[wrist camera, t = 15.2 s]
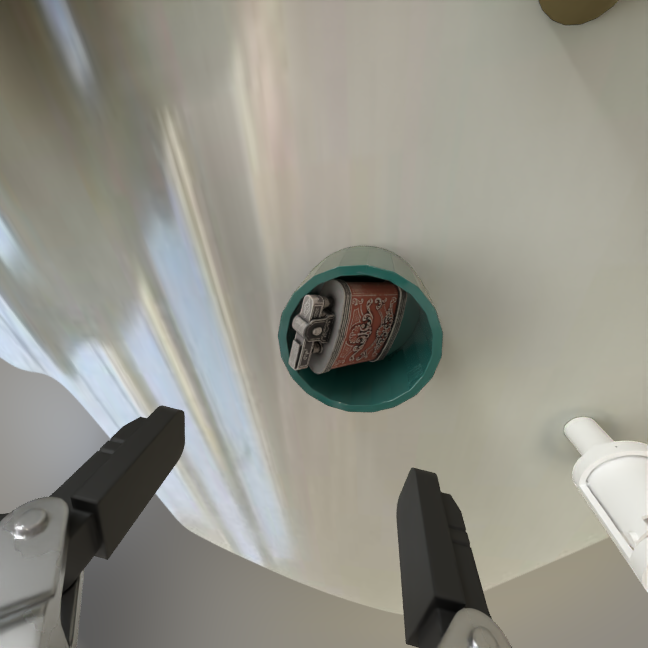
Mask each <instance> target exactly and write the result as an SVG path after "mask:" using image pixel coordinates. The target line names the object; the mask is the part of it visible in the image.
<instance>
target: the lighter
mask: <svg viewBox="0 0 648 648" xmlns="http://www.w3.org/2000/svg"><path fill="white" fill-rule="evenodd" d="M406 299H407V292H406V291H405V290H403V289H402V288H400V287H398V286H397V285H395V284H394V283H392V282H391V281H388V280H387V281H384V282H345V281H344V280H341V279H332V280H329V281H327V282H325V283H324V285H323V287H322V290H321V292H320V295H306V296H305V297H304V300H303V305H302V309H301V312H300V313H299V314H298V315H296V316H295V318H294V319H293V323H292V327H293V328H294V329H295V330H296V335H295V340H293V344H292V349H291V353H290V358H289V365H290V366H291V367H292V368H293V369H294V370H300V369H305V368H307V367H308V365H309V367H310V369H311V370H312V371H313V372H314V373H317V374H321V373H325V372H328V371H330V369H333V368H338V367H342V366H347V365H352V364H356V363H361V362H365V361H371V362H375V361H379V360H382V359H383V358H384V357H385V356H386V354H387V353H388V351H389V349H390V348H391V346H392V344H393V342H394V340H395V337H396V335H397V333H398V331H399V328H400V324H401V321H402V318H403V314H404V310H405V304H406Z"/></svg>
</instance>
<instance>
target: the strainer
mask: <svg viewBox="0 0 648 648" xmlns="http://www.w3.org/2000/svg"><path fill="white" fill-rule="evenodd" d="M564 433H565V435H566V436H567V438H568V439H569V440H570V441H571V442H572V444H573V445H574V446H575V448H576V449H577V450H578V452H579V453H580V454H581V455H582V456H581V457H580V458H579V459H578V461H577V462H576V463H575V465H574V467H573V471H572V479H573V482H574V484H575V486H576V487H577V489H578V490H579V492H580V493H581V495H582V496H583V498H584V499H585V500H586V502H587V503H588V505H589V506H590V508H591V509H592V511H593V512H594V514H595V515H596V517H597V518H598V520H599V521H600V523H601V524H602V526H603V527H604V529H605V530H606V532H607V533H608V535H609V536H610V537H611V539H612V540H613V542H614V543H615V545H616V546H617V548H618V549H619V551H620V552H621V554H622V555H623V557H624V558H625V559H626V561H627V563H628V564H629V565H630V567H631V569H632V570H633V572H634V573H635V575H636V576H637V578H638V579H639V581H640V582H641V584H642V585H643V587H644V588H645V590H646V591H647V592H648V444H645V443H641V442H636V441H615V442H614V441H613V440H612V439H611V438H610V436H609V435H608V434H607V433H606V432H605V431H604V430H603V429H602V428H601V427H600V426H599V425H598V424H597V423H596V421H595V420H593V419H591V418H588V417H578V418H575V419H572V420H571V421H569V422H568V423H567V424H566V425H565V427H564ZM628 544H629V545H630V546H632V547H633V548H634V550H632V549H631V548H630V546H629V545H628Z"/></svg>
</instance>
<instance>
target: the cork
mask: <svg viewBox="0 0 648 648" xmlns="http://www.w3.org/2000/svg"><path fill="white" fill-rule="evenodd" d="M617 1H618V0H539V2H540V5H541V7H542V10H543V11H544V12H545V13H546V14H547V15H548V16H549V17H550V18H551V19H552V20H554V21H556V22H559V23H562V24H564V25H575V24H583V23H585V22H588V21H590V20H593V19H596V18H597V17H599V16H600V15H602V14H603V13H604V12H606V11H607V10H608V9H610V8H611V7H613V6H614V5H615V3H616V2H617Z"/></svg>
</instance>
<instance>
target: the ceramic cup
mask: <svg viewBox="0 0 648 648" xmlns="http://www.w3.org/2000/svg"><path fill="white" fill-rule="evenodd" d="M332 279H341V280H344V281H345V282H384V281H387V280H388V281H391V282H392V283H394V284H395V285H397V286H398V287H400V288H402V289H403V290H405V291H406V292H407V299H406V304H405V310H404V314H403V318H402V321H401V324H400V328H399V331H398V333H397V335H396V337H395V340H394V342H393V344H392V346H391V348H390V349H389V351H388V353H387V354H386V356H385V357H384V358H383V359H382V360H379V361H375V362H371V361H365V362H361V363H356V364H352V365H347V366H342V367H338V368H333V369H330V371H328V372H325V373H321V374H317V373H314V372H313V371H312V370H311V369H310V367H309V365H308V367H307V368H305V369H300V370H294V369H293V368H292V367H291V366H290V365H289V358H290V353H291V349H292V344H293V340H295V335H296V330H295V329H294V328H293V327H292V323H293V319H294V318H295V316H296V315H298V314H299V313H300V312H301V309H302V305H303V300H304V297H305V296H306V295H320V292H321V290H322V287H323V285H324V283H325V282H327V281H329V280H332ZM278 340H279V346H280V352H281V357H282V360H283V362H284V364H285V365H286V367H287V369H288V371H289V373H290V375H291V377H292V378H293V379H294V380H295V382H296V383H297V384H298V385H299V386H300V387H301V388H302V389H303V390H304V391H305V392H306V393H308V394H309V395H310V396H312V397H314V398H316V399H317V400H319V401H321V402H322V403H324V404H326V405H327V406H331V407H334V408H338V409H341V410H345V411H348V412H349V411H350V412H376V411H380V410H385V409H389V408H393V407H395V406H398V405H399V404H401V403H403V402H405V401H407V400H408V399H410V398H412V397H414V396H415V395H417V393H418V392H419V391H420V390H421V389H422V388H423V387H424V386H425V385H426V384H427V383H428V382H429V381H430V380H431V378H432V377H433V375H434V373H435V370H436V368H437V366H438V364H439V361H440V359H441V356H442V341H443V331H442V328H441V325H440V322H439V319H438V315H437V312H436V309H435V307H434V305H433V303H432V301H431V299H430V297H429V295H428V293H427V291H426V289H425V287H424V285H423V283H422V281H421V279H420V278H419V277H418V275H417V274H416V272H415V271H414V270H413V268H412V267H411V266H410V265H409V264H408V263H407V262H406V261H404V260H403V259H402V258H401V257H399V256H398V255H396V254H394V253H392V252H390V251H388V250H385V249H382V248H378V247H372V246H355V247H349V248H345V249H342V250H340V251H337V252H335V253H333V254H331V255H330V256H328V257H326V258H325V259H324V260H323V261H321V262H320V263H319V264H318V265H317V266H316V267H315V268H314V269H313V270H312V271H311V272H310V274H309V275H308V276H307V277H306V279H305V280H304V281H303V282H302V283H301V285H300V286H299V287H298V288H297V290H296V291H295V292H294V293H293V295H292V297H291V298H290V300H289V302H288V304H287V305H286V307H285V309H284V310H283V312H282V315H281V321H280V326H279V332H278Z"/></svg>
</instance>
